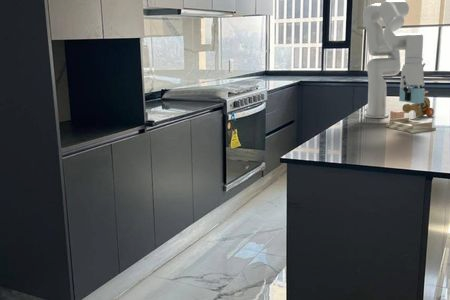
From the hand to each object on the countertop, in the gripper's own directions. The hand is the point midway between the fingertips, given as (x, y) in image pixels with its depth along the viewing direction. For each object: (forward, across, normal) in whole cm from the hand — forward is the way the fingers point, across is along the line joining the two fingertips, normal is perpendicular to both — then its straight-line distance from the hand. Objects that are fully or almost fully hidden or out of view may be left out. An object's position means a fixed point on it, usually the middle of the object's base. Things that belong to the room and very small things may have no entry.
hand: (411, 99), depth 234 cm
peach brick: (+14, -5, -15) cm, 21 cm away
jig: (+14, 0, 0) cm, 14 cm away
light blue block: (+1, 0, 0) cm, 1 cm away
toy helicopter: (+14, -25, -22) cm, 36 cm away
